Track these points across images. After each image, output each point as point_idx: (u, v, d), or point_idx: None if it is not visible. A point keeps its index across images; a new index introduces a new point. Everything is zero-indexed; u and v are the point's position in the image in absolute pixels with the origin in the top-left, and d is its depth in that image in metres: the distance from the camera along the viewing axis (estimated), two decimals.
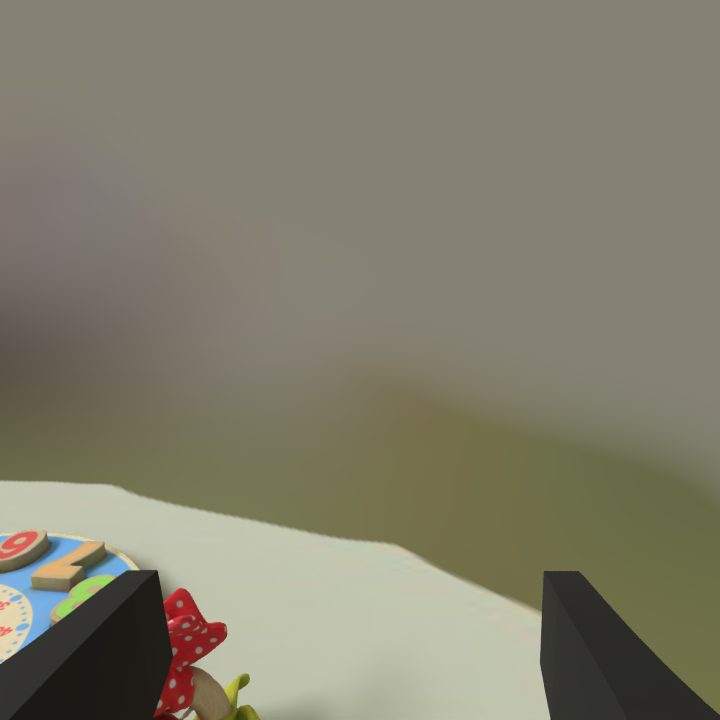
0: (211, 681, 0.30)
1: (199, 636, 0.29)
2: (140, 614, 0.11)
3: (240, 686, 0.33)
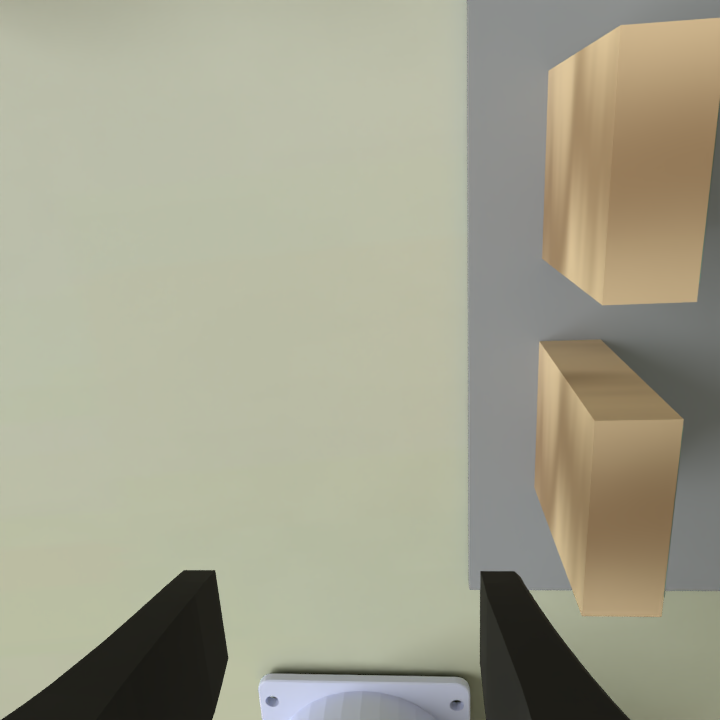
0: None
1: None
2: (202, 615, 0.11)
3: None
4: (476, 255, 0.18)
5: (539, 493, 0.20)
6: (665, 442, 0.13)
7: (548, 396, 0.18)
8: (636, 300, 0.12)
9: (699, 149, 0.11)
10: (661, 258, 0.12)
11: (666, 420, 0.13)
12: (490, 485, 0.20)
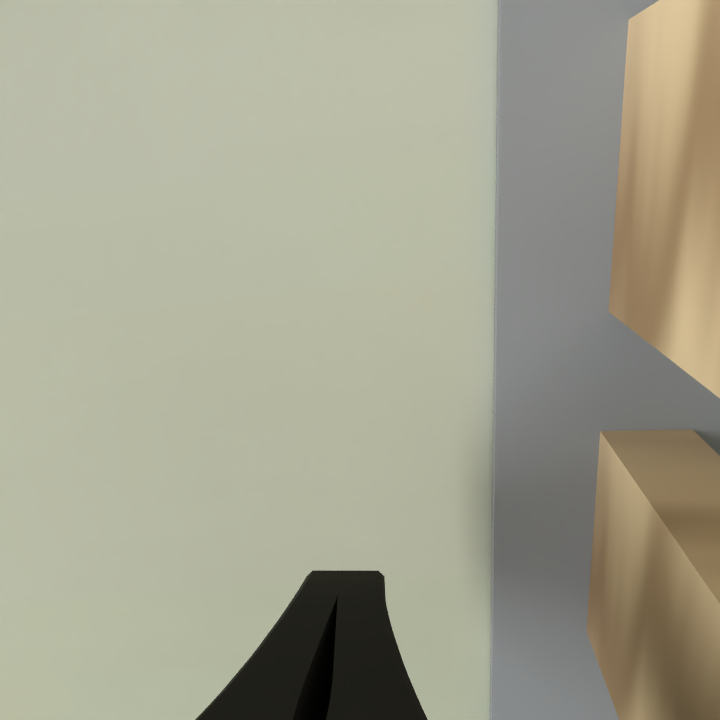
0: None
1: None
2: None
3: None
4: (508, 306, 0.12)
5: (597, 648, 0.13)
6: None
7: (620, 524, 0.12)
8: None
9: None
10: None
11: None
12: (523, 627, 0.14)
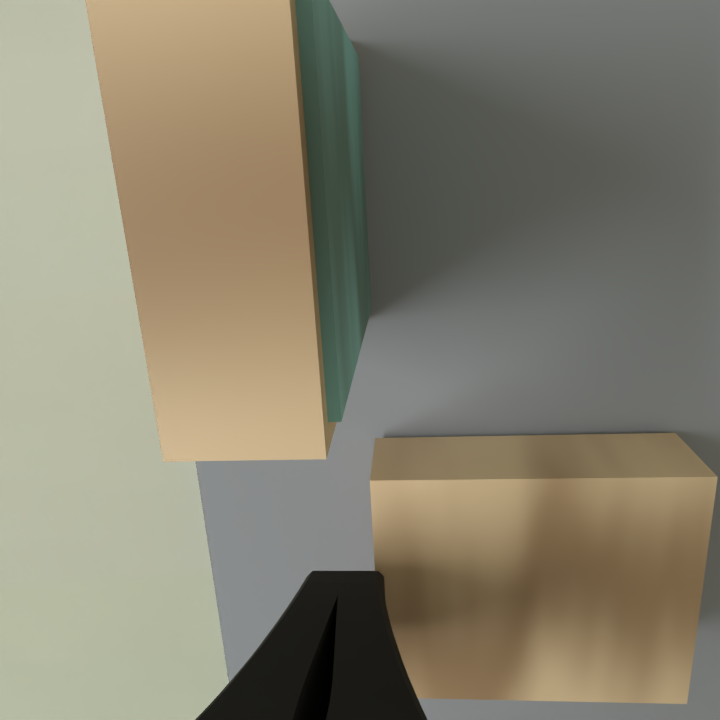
0: None
1: None
2: None
3: None
4: None
5: (420, 688, 0.13)
6: None
7: (456, 537, 0.11)
8: (222, 453, 0.07)
9: (276, 182, 0.06)
10: (248, 382, 0.06)
11: (681, 441, 0.12)
12: (248, 624, 0.15)
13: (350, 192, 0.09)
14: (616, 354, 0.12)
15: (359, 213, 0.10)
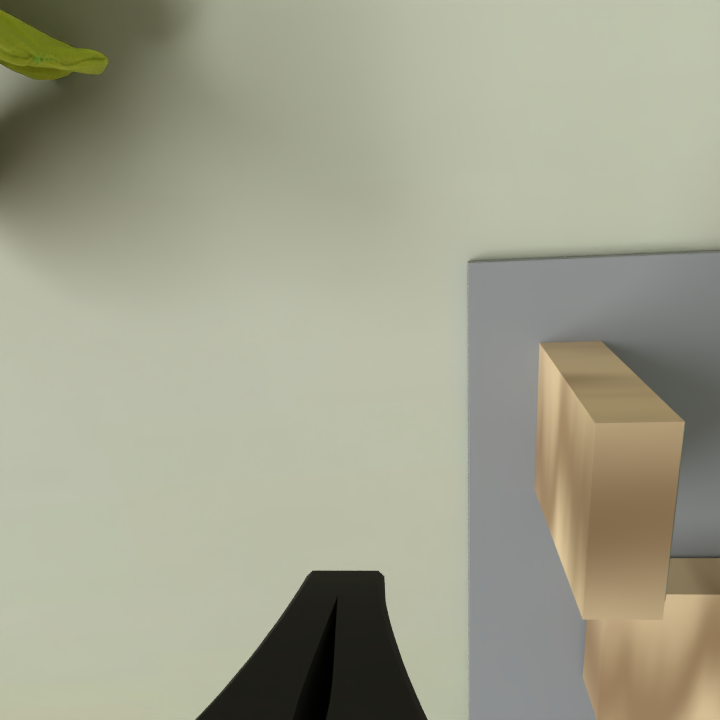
0: None
1: None
2: None
3: None
4: (476, 485, 0.20)
5: (622, 715, 0.20)
6: None
7: (655, 626, 0.19)
8: (611, 616, 0.15)
9: (662, 512, 0.14)
10: (632, 587, 0.14)
11: None
12: (488, 670, 0.23)
13: None
14: None
15: None
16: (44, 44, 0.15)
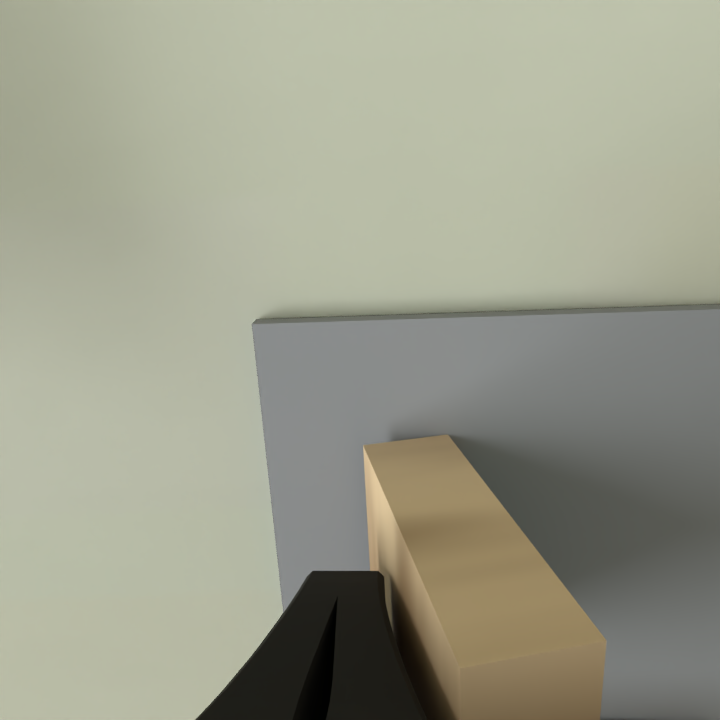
0: None
1: None
2: None
3: None
4: None
5: None
6: None
7: None
8: None
9: None
10: None
11: None
12: None
13: None
14: (663, 664, 0.14)
15: None
16: None
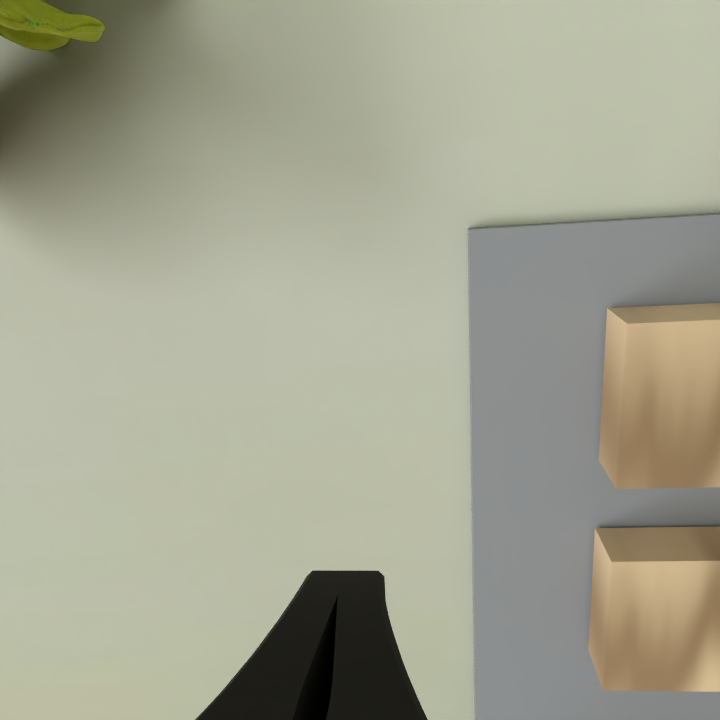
0: None
1: None
2: None
3: None
4: (478, 456, 0.20)
5: (628, 684, 0.20)
6: None
7: (661, 594, 0.19)
8: None
9: None
10: None
11: None
12: (493, 643, 0.23)
13: None
14: None
15: None
16: (40, 9, 0.15)
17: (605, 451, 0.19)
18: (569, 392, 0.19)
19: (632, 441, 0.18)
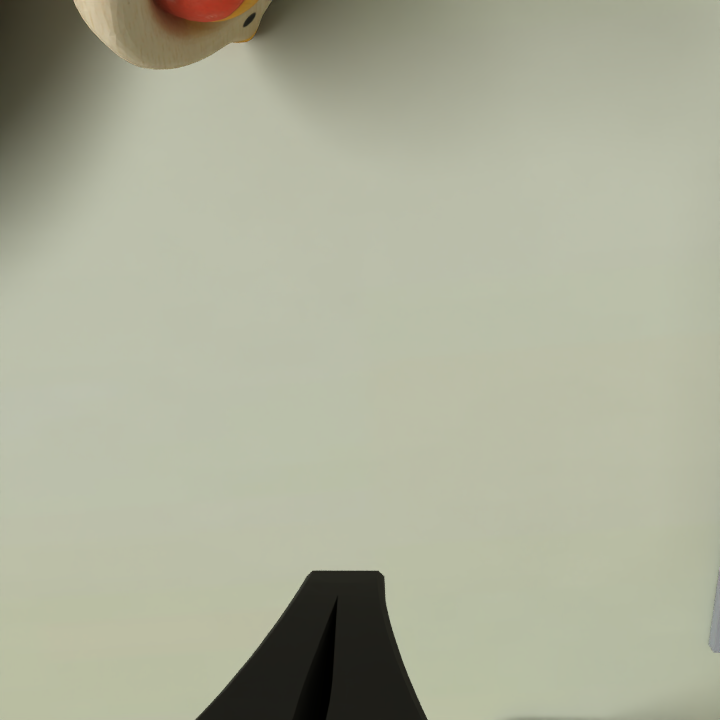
0: None
1: None
2: None
3: None
4: None
5: None
6: None
7: None
8: None
9: None
10: None
11: None
12: None
13: None
14: None
15: None
16: None
17: None
18: None
19: None
